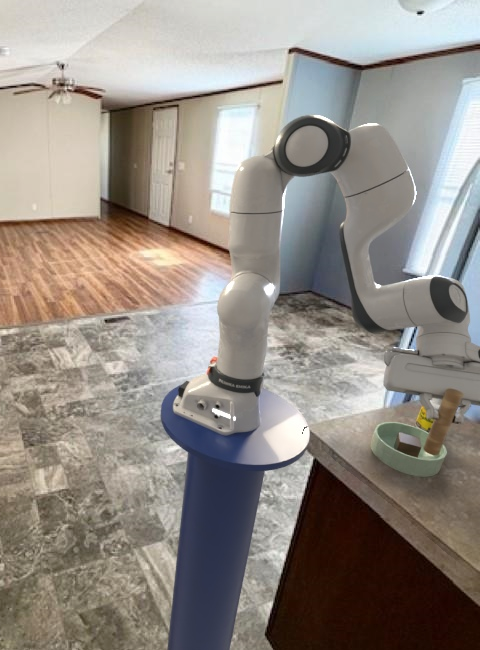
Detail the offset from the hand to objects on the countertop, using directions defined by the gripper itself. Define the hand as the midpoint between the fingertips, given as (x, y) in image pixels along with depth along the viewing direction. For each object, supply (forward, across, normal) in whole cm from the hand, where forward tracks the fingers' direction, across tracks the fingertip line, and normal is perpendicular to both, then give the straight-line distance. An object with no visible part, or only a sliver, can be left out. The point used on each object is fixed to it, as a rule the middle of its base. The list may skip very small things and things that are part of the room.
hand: (445, 421), depth 81 cm
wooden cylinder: (+5, 0, +6) cm, 8 cm away
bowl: (+5, 0, +19) cm, 20 cm away
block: (+4, 0, +19) cm, 19 cm away
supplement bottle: (-5, +8, +29) cm, 30 cm away
